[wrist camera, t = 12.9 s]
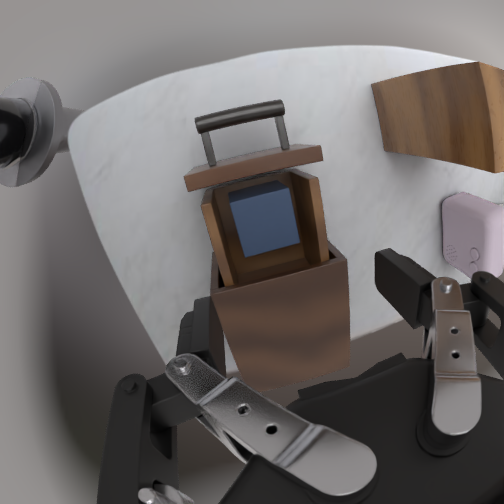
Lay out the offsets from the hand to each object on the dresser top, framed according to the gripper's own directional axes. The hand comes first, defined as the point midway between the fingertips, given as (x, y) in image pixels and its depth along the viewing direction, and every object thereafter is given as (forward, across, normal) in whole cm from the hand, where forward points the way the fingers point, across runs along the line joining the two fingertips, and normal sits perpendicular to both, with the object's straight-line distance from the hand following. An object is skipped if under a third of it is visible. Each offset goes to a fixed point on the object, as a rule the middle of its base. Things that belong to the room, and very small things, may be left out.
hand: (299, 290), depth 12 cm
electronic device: (+17, -27, +8) cm, 33 cm away
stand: (+17, -20, -7) cm, 27 cm away
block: (+15, 0, 0) cm, 15 cm away
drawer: (+16, 0, -1) cm, 16 cm away
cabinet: (+17, 0, +10) cm, 20 cm away
